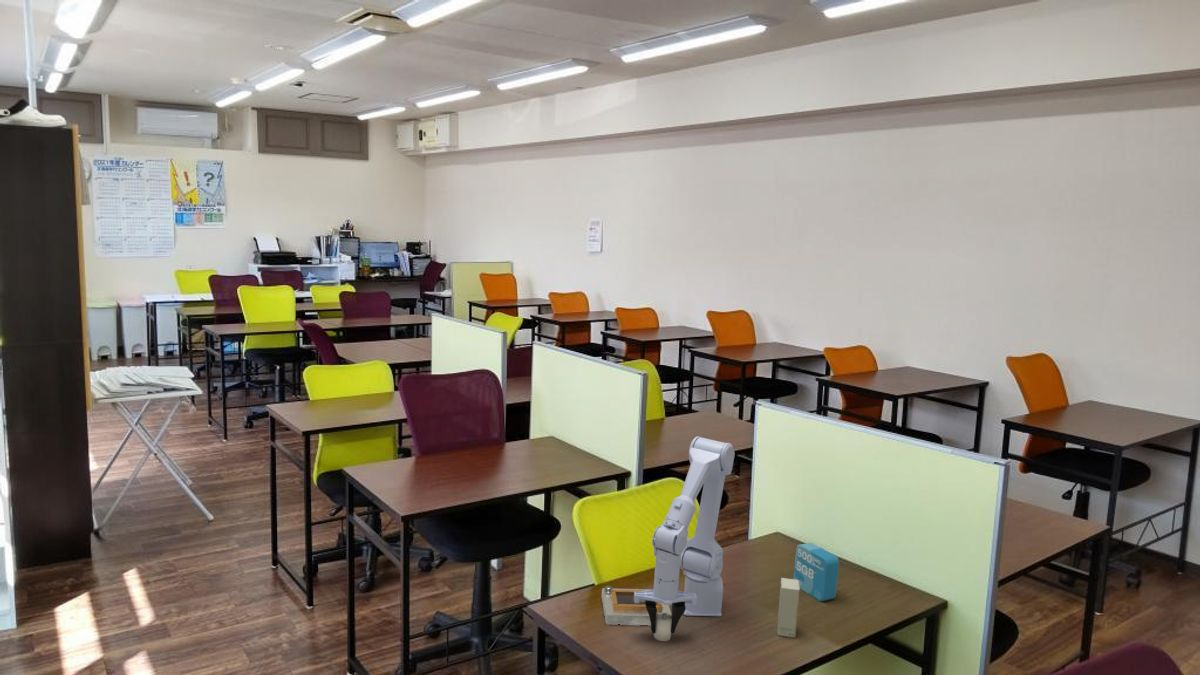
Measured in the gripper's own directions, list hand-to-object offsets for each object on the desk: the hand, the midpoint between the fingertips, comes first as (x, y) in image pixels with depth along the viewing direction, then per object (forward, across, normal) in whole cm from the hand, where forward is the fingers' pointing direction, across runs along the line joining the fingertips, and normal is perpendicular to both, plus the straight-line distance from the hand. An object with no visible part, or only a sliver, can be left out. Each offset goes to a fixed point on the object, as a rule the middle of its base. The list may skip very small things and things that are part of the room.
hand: (662, 631), depth 190 cm
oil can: (+1, 0, 0) cm, 1 cm away
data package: (+2, +45, +25) cm, 52 cm away
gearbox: (+1, -5, +12) cm, 13 cm away
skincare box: (+2, +31, +4) cm, 31 cm away
